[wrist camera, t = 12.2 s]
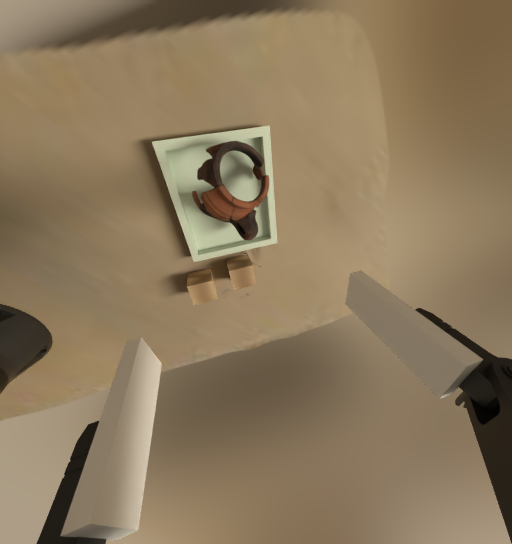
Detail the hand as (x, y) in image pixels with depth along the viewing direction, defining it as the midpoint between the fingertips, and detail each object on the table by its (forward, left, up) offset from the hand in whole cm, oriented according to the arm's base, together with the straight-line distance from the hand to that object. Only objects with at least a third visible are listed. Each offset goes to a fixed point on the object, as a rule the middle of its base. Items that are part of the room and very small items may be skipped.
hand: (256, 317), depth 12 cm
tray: (+1, +2, -22) cm, 22 cm away
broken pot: (+1, +2, -23) cm, 23 cm away
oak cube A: (-6, -11, -22) cm, 25 cm away
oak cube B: (+1, -10, -22) cm, 24 cm away
